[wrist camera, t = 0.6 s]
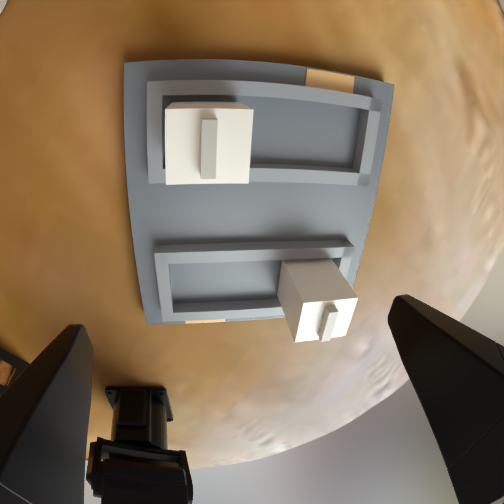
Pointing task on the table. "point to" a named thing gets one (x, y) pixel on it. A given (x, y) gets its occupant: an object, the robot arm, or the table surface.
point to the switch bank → (251, 184)
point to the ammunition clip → (9, 369)
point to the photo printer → (2, 5)
